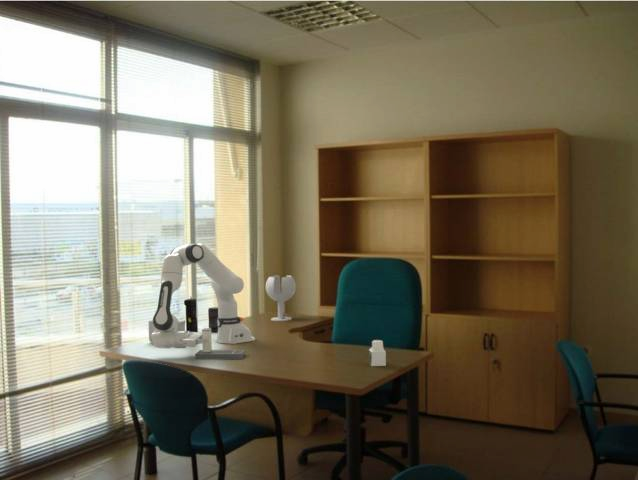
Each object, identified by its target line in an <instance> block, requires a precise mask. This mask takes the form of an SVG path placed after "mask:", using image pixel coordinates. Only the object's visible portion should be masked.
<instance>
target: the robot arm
mask: <svg viewBox="0 0 638 480" xmlns="http://www.w3.org/2000/svg"><path fill="white" fill-rule="evenodd" d="M192 264H196V265H197V266H198V267H199V268H200V269H201V271H202V272H203V273H204V274H205V275H206V277H208V278H209V279H211V280H210V286H211V288H212V289H213V291H214V294H215V297H216V302H217V307H218V320H217V324H218V332H217V336H216V340H215V342H216V343H220V344H230V345H231V344H232V345H233V344H242V343H246V342H254V341H256V338H255V337H254V336H252V333H251V329H250V328H249V327H247V326H246V325H245V324H243V323H242V322H244V318H243V317H242V316H241V317H240V316H238V303H237V300H236V299H235V296H234V295H235V294H239V293H241V292H242V291H243V289H244V285H245V283H244V280H243V278H242V277H240V276H238V275H237V274H236V273H234V271H232V270H231V269H230V268H229V267H227V266H226V265H225V264H224V263H223V262H222V261H221V260H220V259H219V258H218V257H217V255H216V254H215V253H214V252H213V251H212V250H211V249H210V248H209V247H207V246H206V245H205V244H203V243H189V244H183V245H181V246H178V247H175V248H173V249H171V250H170V252H169V253H168V255H166V256H165V258H164V259H163V262H162V267H161V268H162V269H161V277H160V279H161V280H160V290H159V295H158V303H157V308H156V311H155V313H154V315H153V317H152V320H153V324H154V326H155V328H156V329H155V330H154V332H153V333H152V334H151V341H150V342H151V344H152V346H154V348H158V349H171V348H172V349H173V348H174V349H186V348H187V347H196V346H197V345H200V344H202V343H207V339H203V340H202V331H201V332H199V331H198V332H189V331H186V330H185V331H177V328H178V320H179V319H178V317H177V316H175V314H173V313H172V312H171V306H172V296H173V294H174V293H175V292H176V291H177V290H179V289H180V288H181V285H182V282H183V268H184V267H185V266H189V265H192ZM172 314H173V315H172Z"/></svg>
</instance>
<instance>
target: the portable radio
mask: <svg viewBox="0 0 638 480" xmlns="http://www.w3.org/2000/svg"><path fill="white" fill-rule="evenodd" d="M183 304H184V305H185V331H189V332H199V330H198V318H197V299H196V298H192V297H190V298H187V299H184V300H183Z"/></svg>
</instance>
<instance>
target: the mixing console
mask: <svg viewBox="0 0 638 480" xmlns="http://www.w3.org/2000/svg"><path fill="white" fill-rule="evenodd" d="M245 355H246V349H212V350H211V351H210V352H203V349H200V350H198V351H197V352H196V353H195V354H194V359H195V360H242V359H243V358H244V357H245Z"/></svg>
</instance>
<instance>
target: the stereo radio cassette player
mask: <svg viewBox="0 0 638 480" xmlns="http://www.w3.org/2000/svg"><path fill="white" fill-rule="evenodd" d="M180 311H181V309H179V310H177V311H175V312H173V313H171V314H172V315H175V314H176V313H178V312H180ZM155 329H156V328H155V326H154V324H153V319H150V320H148V340H149V342H151V334H152V333H153V332H154V330H155ZM177 331H186V319H183V320H182V319H178V328H177Z"/></svg>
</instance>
